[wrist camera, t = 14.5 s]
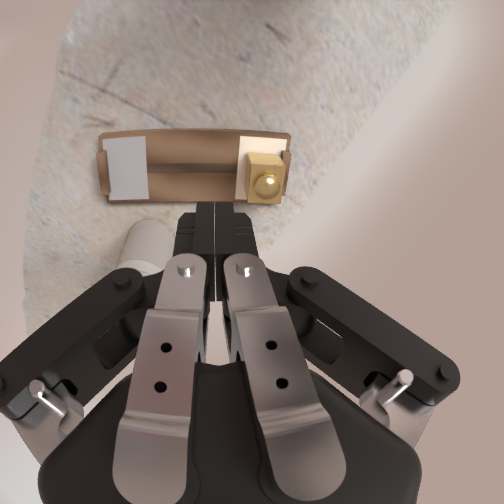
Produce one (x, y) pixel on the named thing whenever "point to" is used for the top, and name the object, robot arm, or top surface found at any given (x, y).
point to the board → (182, 163)
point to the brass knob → (264, 178)
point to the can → (147, 247)
